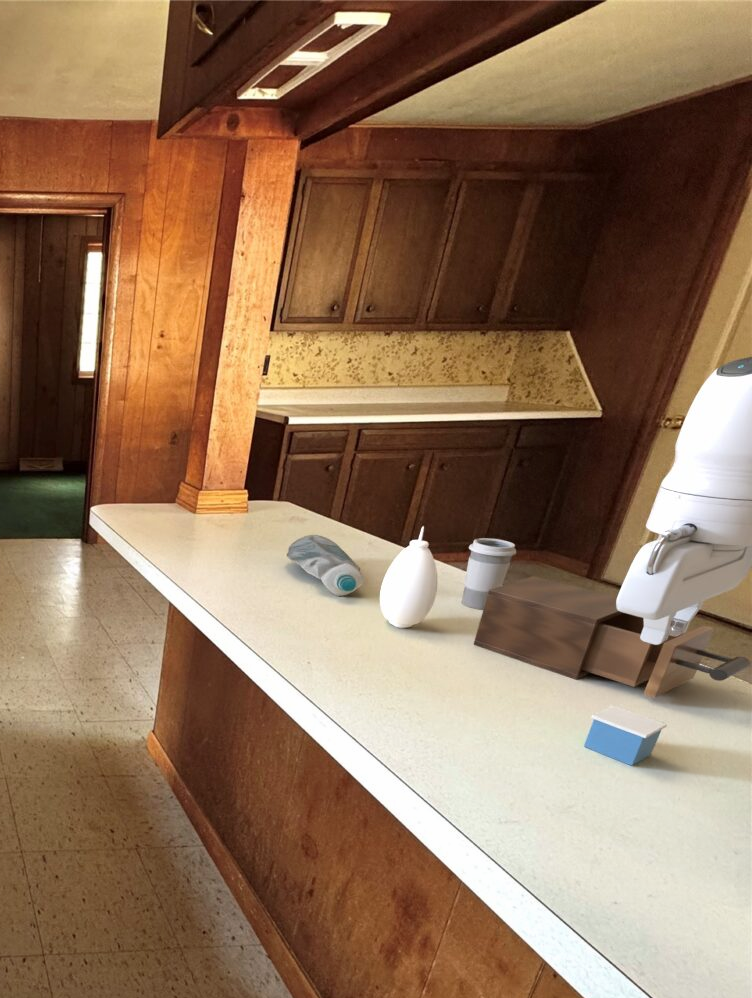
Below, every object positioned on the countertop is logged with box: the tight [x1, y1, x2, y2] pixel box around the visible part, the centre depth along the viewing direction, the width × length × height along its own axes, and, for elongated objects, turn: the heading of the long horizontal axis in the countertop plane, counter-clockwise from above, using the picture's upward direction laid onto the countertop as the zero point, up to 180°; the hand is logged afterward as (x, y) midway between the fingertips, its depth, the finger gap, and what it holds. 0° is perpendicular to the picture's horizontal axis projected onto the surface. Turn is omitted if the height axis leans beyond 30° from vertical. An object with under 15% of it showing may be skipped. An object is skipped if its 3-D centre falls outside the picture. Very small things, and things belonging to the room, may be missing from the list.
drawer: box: [582, 613, 751, 698], centre depth 93 cm, size 17×11×8 cm, turn 26°
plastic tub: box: [583, 704, 668, 767], centre depth 79 cm, size 5×5×4 cm
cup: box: [461, 537, 517, 610], centre depth 120 cm, size 7×7×12 cm
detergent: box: [286, 534, 365, 597], centre depth 135 cm, size 13×7×25 cm
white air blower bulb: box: [379, 525, 439, 629], centre depth 112 cm, size 8×8×18 cm
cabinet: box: [473, 575, 623, 680], centre depth 102 cm, size 14×13×10 cm
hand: (661, 637), depth 74 cm, fingers open, 3 cm apart
